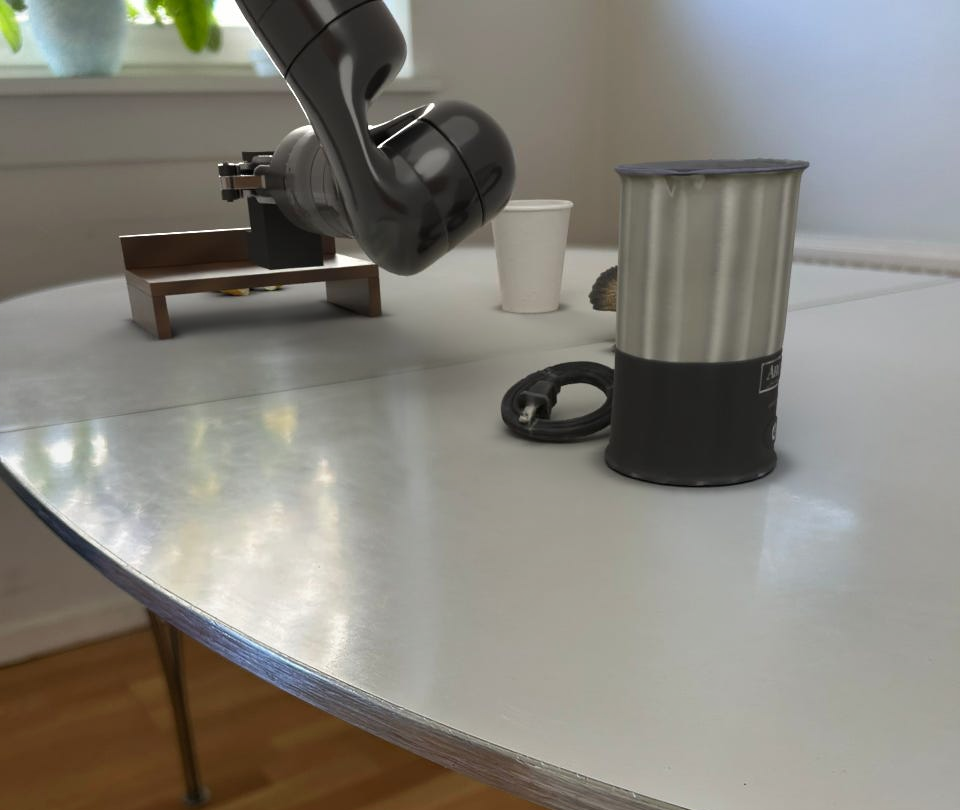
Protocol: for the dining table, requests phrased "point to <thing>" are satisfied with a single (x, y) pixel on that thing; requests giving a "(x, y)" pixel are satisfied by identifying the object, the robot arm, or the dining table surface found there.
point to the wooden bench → (230, 273)
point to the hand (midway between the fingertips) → (270, 176)
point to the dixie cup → (531, 253)
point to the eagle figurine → (605, 292)
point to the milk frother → (687, 325)
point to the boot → (278, 235)
